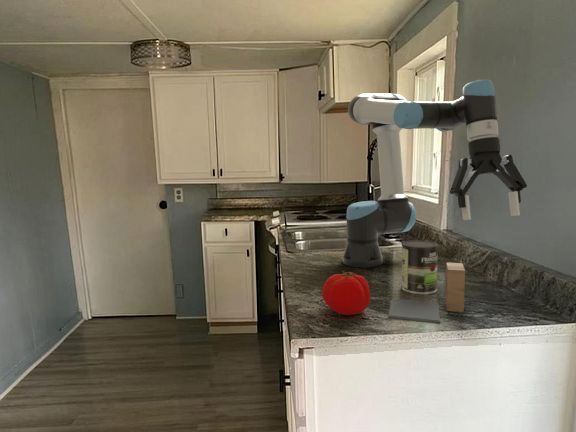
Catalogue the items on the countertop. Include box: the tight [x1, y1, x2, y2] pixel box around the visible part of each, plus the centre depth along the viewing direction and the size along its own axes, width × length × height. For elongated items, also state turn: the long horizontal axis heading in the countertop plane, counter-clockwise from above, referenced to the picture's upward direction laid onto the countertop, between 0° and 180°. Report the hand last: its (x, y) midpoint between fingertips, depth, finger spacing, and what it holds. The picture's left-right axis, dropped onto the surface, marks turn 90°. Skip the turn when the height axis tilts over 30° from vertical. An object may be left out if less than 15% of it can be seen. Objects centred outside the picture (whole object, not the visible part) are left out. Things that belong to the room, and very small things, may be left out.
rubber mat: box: [387, 298, 441, 324], centre depth 98 cm, size 12×12×1 cm
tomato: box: [321, 270, 372, 316], centre depth 99 cm, size 13×12×11 cm
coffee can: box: [401, 239, 439, 296], centre depth 114 cm, size 10×10×14 cm
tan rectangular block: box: [444, 262, 466, 313], centre depth 100 cm, size 7×4×11 cm, turn 160°
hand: (491, 218), depth 101 cm, fingers open, 13 cm apart
